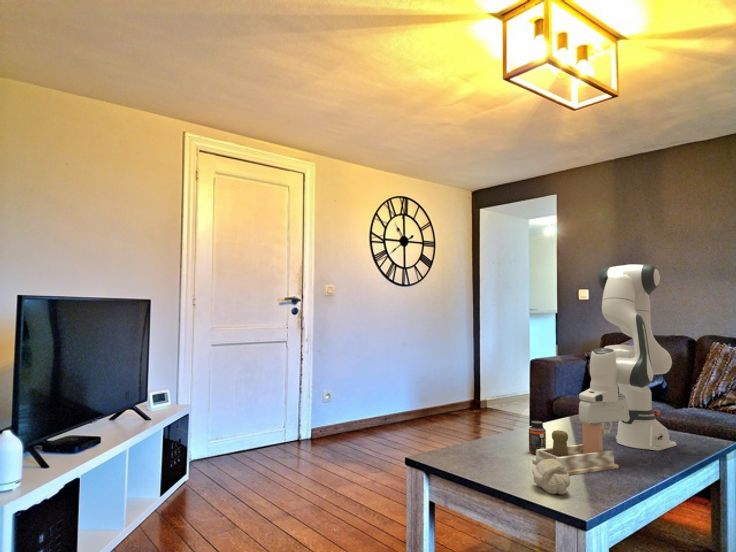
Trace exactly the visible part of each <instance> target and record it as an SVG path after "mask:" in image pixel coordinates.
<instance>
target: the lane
mask: <svg viewBox="0 0 736 552" xmlns="http://www.w3.org/2000/svg"><path fill="white" fill-rule="evenodd" d="M567 448H568V455H569V456H563V457H557V456H555V455H552V450H553V447H546V449H537V450H536V454H535V459H532V464H533V465H535V466H536V465H537V464H538V463H539V462H540V461H542V460H544V459H553V458H554V459H555V460H556V461H558V462H560V463H561V464H562V465H563V466H564V468H565V469H566V470H567V473H568V474H569V476H575V475H580V474H581V473H582V474H588V472H589V473H594V472H601V471H607V470H608V471H609V470H616V469H619V464H616V463H615V451H613V450H610V449H609V450H603V451H602V452H594V453H586V454H583V443H579V444H573V445H567ZM615 468H616V469H615Z"/></svg>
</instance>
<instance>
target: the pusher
mask: <svg viewBox="0 0 736 552" xmlns="http://www.w3.org/2000/svg"><path fill="white" fill-rule="evenodd" d="M581 425H582V426H581V429H582V430H581V432H582V435H581V436H582V437H581V438H582V444H583V454H586V453H594V452H602V451H604V450H603V449H604V448H603V447H604V446H603V445H604V444H603V443H604V442H603V440H604V439H603V435H602V426H599V425H597V424H596V423H591V424H587V423H583V422H581Z"/></svg>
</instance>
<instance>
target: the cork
mask: <svg viewBox="0 0 736 552" xmlns="http://www.w3.org/2000/svg"><path fill="white" fill-rule="evenodd" d="M551 439H552V440H553V441H552V448H553V450H552V455H555V456H557V457H563V456H569V455H568V448H567V446H568V445H567V442H568V441H569V433H568V432H566V431H565V430H559V429H558V430H554V431H552V432H551Z"/></svg>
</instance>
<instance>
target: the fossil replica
mask: <svg viewBox="0 0 736 552" xmlns="http://www.w3.org/2000/svg"><path fill="white" fill-rule="evenodd" d="M532 475H533V482H534V483H535V484H536V485H537V486H538V487H540V488H542V489H543V490H544V491H545V492H546V493H547V494H549V495H550V494H551V495H556V494H559V495H564V494H566V492H567V488H568V487H570V486H571V479H570V475H569V474H568V473H567V470H566V469H565V468H564V466H563V465H562V464H561V463H560V462H558V461H556V460H555V459H554V458H553V459H544V460H542V461H540V462H539V463H538V464H537V465H536V464H535V467H534V468H532Z"/></svg>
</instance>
